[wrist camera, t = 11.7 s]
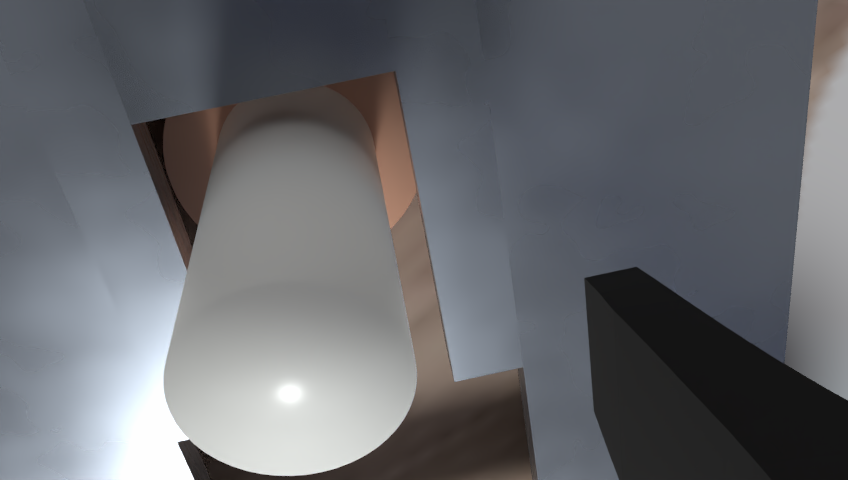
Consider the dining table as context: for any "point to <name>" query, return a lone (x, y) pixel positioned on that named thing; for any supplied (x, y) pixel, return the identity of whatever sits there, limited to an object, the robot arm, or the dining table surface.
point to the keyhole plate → (434, 178)
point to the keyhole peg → (292, 277)
